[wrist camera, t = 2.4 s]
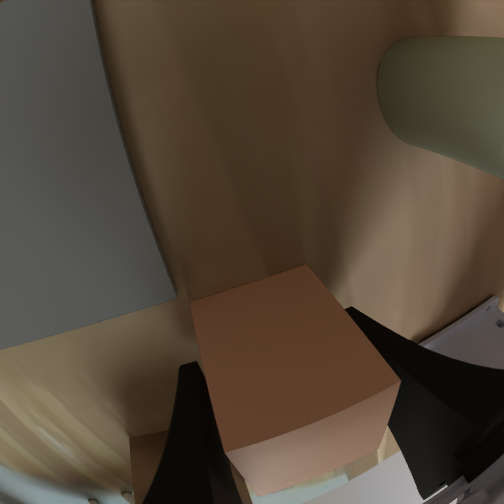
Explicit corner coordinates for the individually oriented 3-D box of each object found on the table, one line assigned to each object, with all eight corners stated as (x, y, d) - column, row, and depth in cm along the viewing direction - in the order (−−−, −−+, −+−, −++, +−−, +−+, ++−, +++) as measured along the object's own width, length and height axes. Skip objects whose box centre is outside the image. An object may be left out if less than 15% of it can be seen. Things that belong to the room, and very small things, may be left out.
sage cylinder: (448, 43, 9) (597, 64, 3) (455, 140, 11) (591, 198, 5) (368, 34, 8) (561, 33, 2) (382, 152, 10) (551, 233, 5)
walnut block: (214, 418, 15) (243, 519, 10) (235, 452, 17) (262, 531, 12) (129, 438, 14) (140, 535, 9) (164, 469, 17) (180, 547, 12)
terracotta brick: (306, 263, 12) (401, 380, 7) (314, 343, 14) (378, 448, 9) (189, 301, 11) (224, 452, 6) (220, 376, 13) (258, 496, 8)
